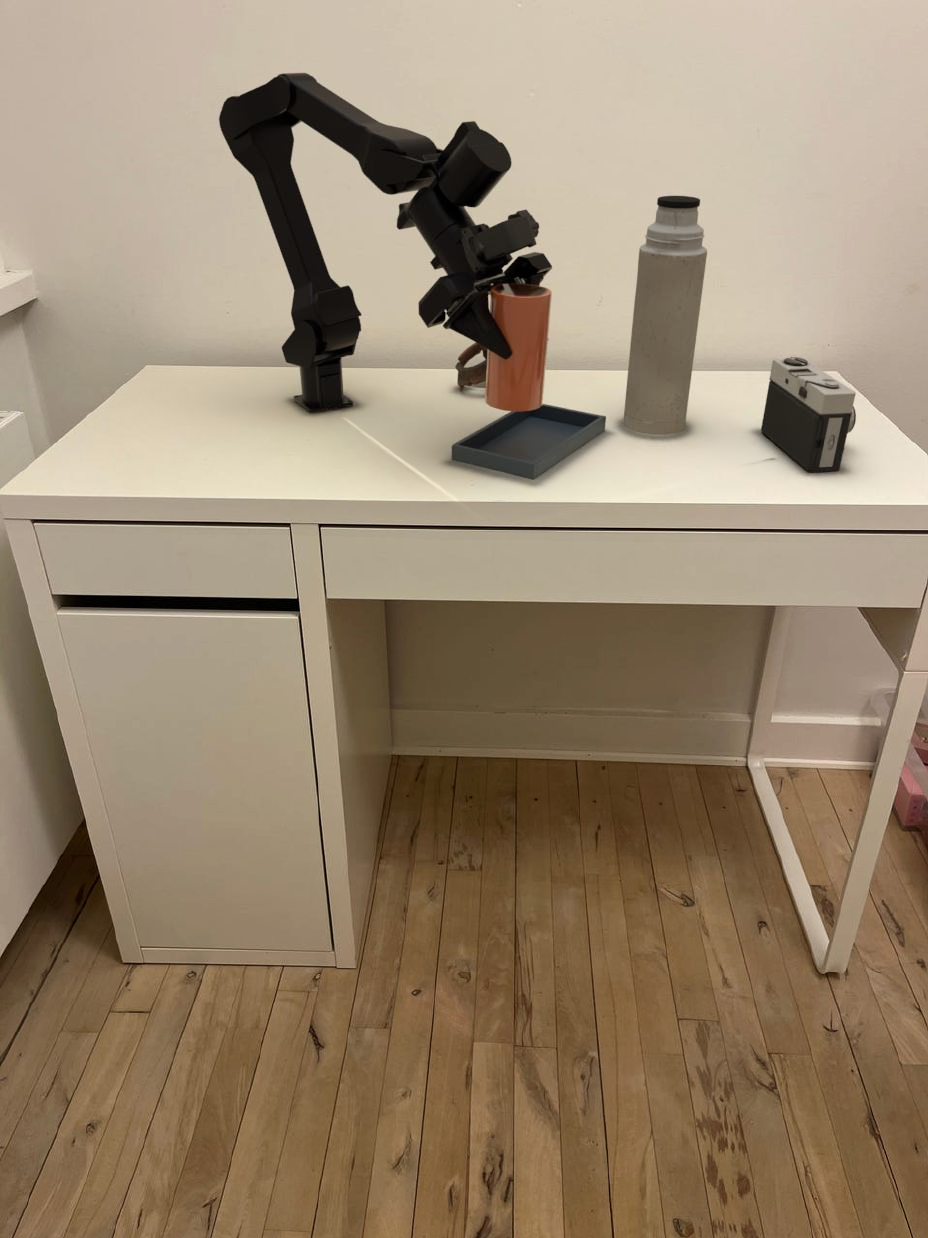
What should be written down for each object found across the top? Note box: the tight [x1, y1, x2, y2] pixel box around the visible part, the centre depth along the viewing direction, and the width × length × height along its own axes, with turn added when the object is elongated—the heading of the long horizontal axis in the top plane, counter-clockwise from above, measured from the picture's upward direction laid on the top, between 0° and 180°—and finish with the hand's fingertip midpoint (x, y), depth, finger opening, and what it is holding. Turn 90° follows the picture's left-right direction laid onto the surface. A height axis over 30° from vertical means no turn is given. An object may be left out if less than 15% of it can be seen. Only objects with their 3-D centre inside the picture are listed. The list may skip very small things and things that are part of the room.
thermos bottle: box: [622, 195, 708, 436], centre depth 121 cm, size 8×8×28 cm
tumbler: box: [484, 284, 553, 412], centre depth 112 cm, size 7×7×13 cm
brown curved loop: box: [454, 342, 488, 390], centre depth 141 cm, size 12×10×8 cm
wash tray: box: [451, 403, 607, 480], centre depth 121 cm, size 19×11×2 cm, turn 148°
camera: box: [760, 356, 857, 473], centre depth 119 cm, size 14×8×10 cm, turn 9°
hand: (527, 350), depth 111 cm, fingers closed on tumbler, 7 cm apart
